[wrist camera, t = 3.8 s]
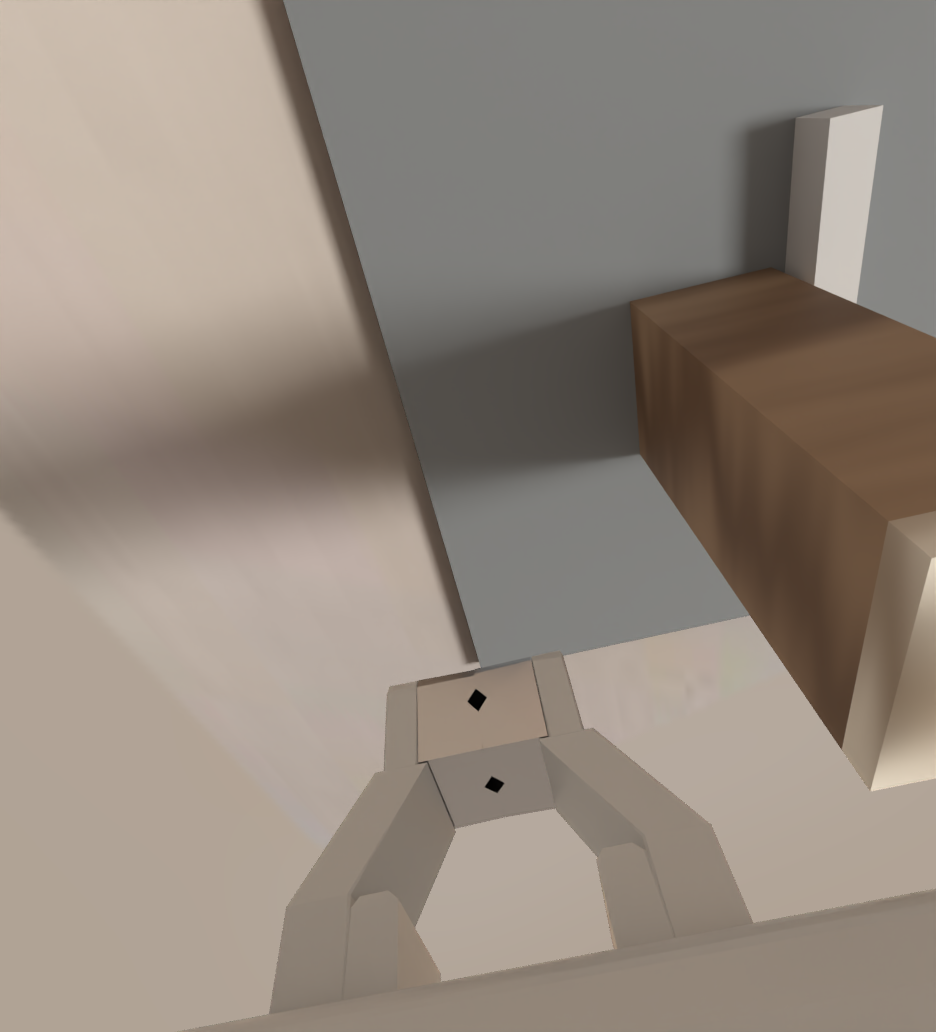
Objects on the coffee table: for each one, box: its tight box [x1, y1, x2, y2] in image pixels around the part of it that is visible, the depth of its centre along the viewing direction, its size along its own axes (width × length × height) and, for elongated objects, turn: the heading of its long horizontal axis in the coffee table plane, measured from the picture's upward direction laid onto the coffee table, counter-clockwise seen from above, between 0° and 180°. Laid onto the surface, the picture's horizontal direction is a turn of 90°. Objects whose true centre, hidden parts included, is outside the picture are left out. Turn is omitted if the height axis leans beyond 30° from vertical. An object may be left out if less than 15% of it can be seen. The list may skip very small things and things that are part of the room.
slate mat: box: [283, 0, 936, 668], centre depth 18 cm, size 22×26×2 cm
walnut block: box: [630, 267, 936, 791], centre depth 14 cm, size 5×4×12 cm
